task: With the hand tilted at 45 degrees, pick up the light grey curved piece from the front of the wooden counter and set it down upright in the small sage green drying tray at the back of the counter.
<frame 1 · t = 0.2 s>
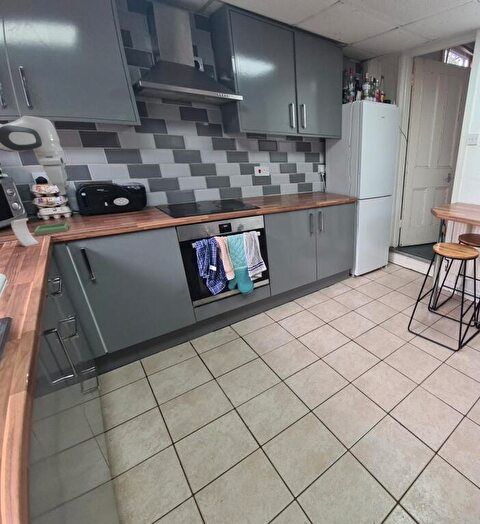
hand: (64, 192, 127), 23 cm above the worktop, tool pointing down, fingers open, 8 cm apart
drying tray: (53, 230, 152), on the worktop
light grey curved piece: (29, 244, 134), on the worktop
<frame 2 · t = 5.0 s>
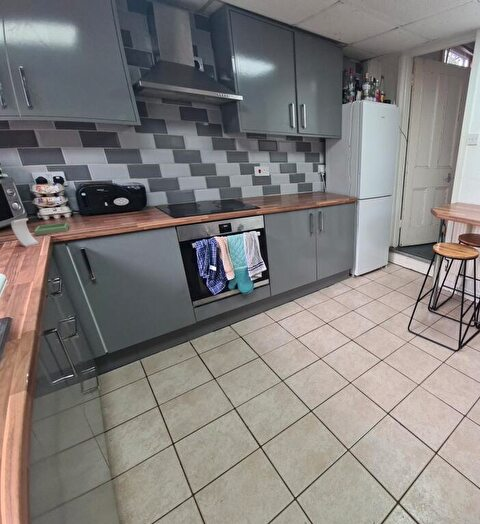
nothing on the worktop moved.
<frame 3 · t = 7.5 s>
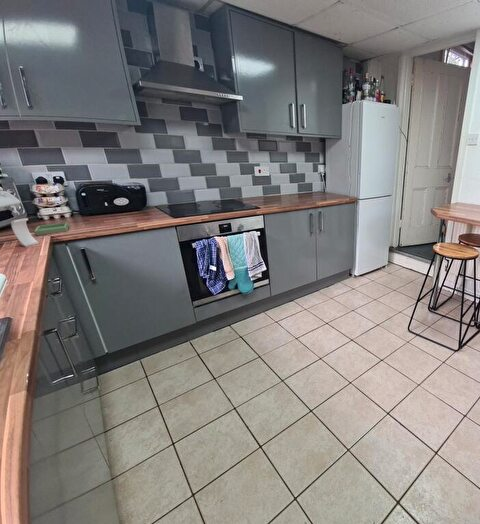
hand: (5, 217, 129), 12 cm above the worktop, tool tilted 45°, fingers open, 8 cm apart
nothing on the worktop moved.
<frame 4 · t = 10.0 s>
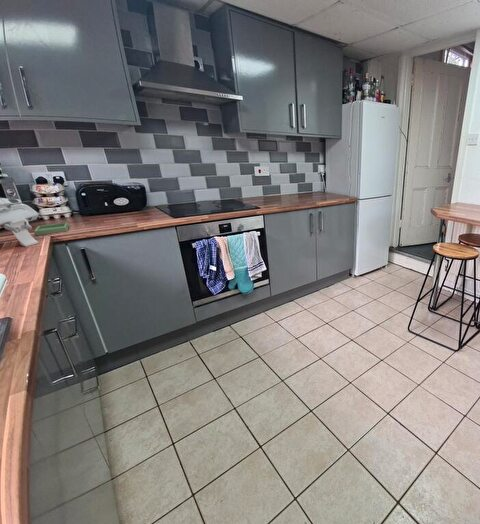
hand: (24, 230, 131), 7 cm above the worktop, tool tilted 45°, fingers closed on light grey curved piece, 3 cm apart
light grey curved piece: (29, 244, 134), on the worktop, touching gripper
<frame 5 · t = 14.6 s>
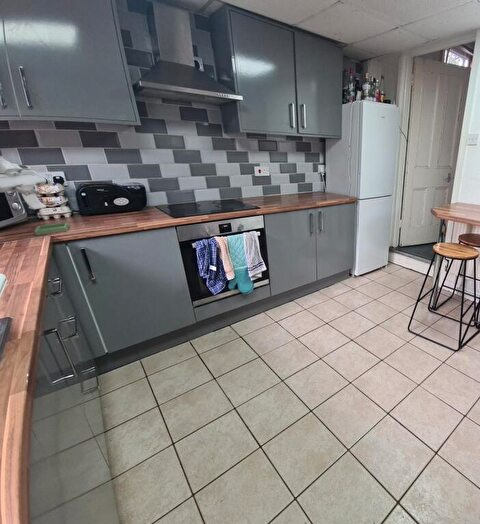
hand: (33, 194, 140), 20 cm above the worktop, tool tilted 45°, fingers closed on light grey curved piece, 3 cm apart
light grey curved piece: (37, 208, 143), point 13 cm above the worktop, touching gripper
when the fingers open (7 cm above the worktop, at t = 18.8 s): light grey curved piece stays where it is, resting on drying tray.
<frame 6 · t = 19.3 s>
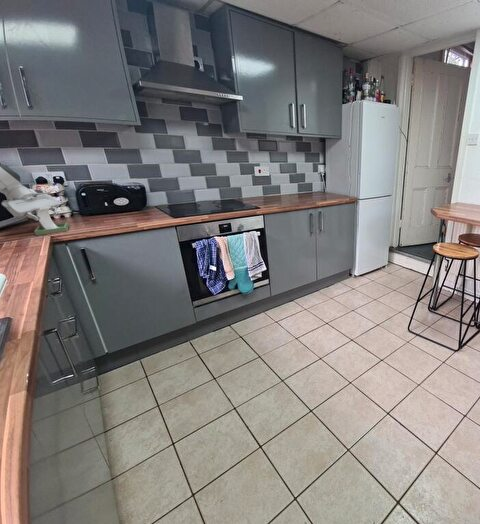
hand: (48, 217, 149), 7 cm above the worktop, tool tilted 45°, fingers open, 8 cm apart
light grey curved piece: (51, 229, 152), resting on drying tray
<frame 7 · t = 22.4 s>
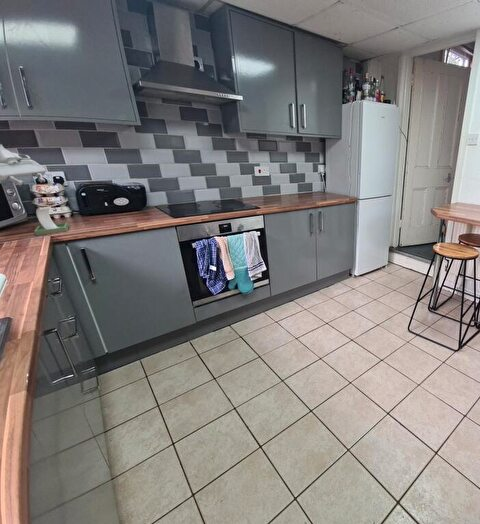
hand: (33, 182, 142), 24 cm above the worktop, tool tilted 45°, fingers open, 8 cm apart
nothing on the worktop moved.
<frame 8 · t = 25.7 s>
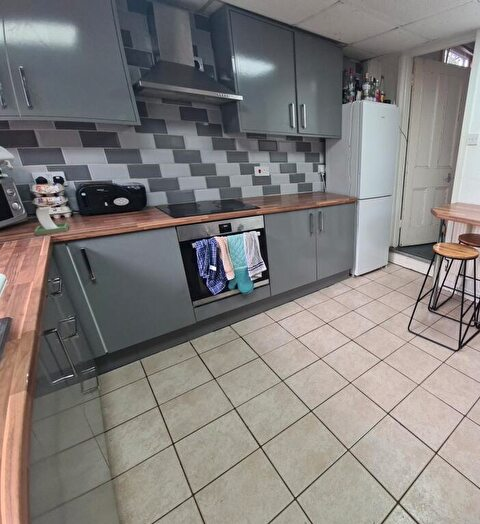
nothing on the worktop moved.
at the end: light grey curved piece inside the target area in the drying tray (0.4 cm from its centre), point 0.4 cm above the drying tray's base; light grey curved piece tilted 0°; the gripper is holding nothing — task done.
